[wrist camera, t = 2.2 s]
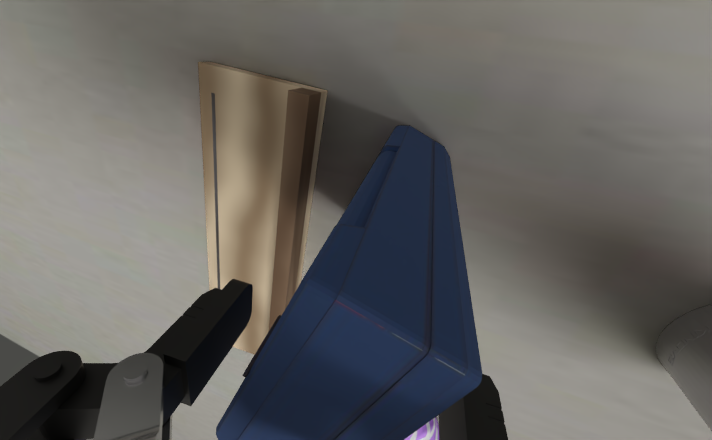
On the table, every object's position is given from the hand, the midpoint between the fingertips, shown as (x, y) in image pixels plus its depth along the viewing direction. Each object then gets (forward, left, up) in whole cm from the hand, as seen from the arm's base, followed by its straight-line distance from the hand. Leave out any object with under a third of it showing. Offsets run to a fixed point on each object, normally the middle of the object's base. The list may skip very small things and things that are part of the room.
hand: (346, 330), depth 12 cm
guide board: (+12, +10, -16) cm, 23 cm away
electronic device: (0, 0, -17) cm, 17 cm away
